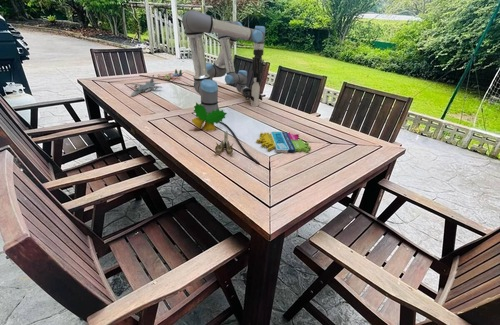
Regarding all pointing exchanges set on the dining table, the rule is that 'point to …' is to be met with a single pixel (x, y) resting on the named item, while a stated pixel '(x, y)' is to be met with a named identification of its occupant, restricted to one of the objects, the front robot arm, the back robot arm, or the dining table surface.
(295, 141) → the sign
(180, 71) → the toy
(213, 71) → the back robot arm
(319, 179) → the dining table surface
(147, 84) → the airplane
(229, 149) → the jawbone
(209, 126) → the ornament
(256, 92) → the bottle
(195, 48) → the front robot arm
